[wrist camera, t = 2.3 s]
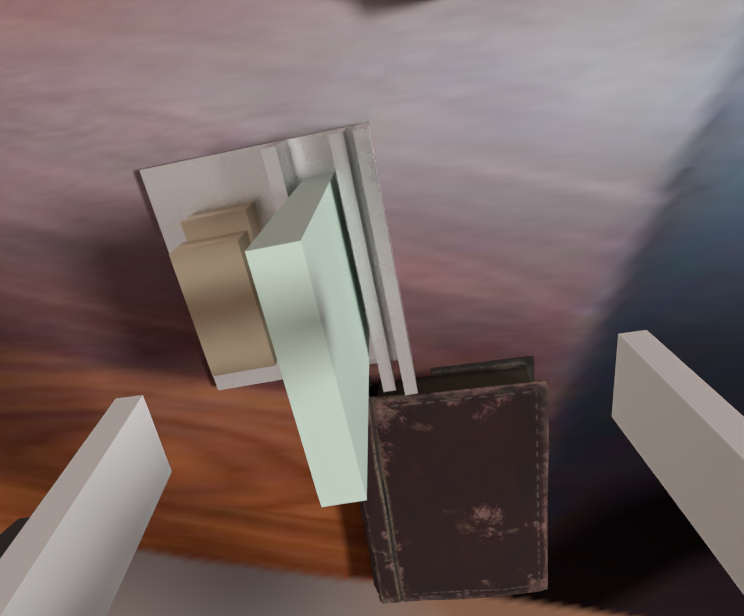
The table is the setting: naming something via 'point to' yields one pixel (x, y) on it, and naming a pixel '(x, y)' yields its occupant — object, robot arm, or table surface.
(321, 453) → the board
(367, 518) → the diary
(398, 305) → the rack
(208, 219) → the offcut lower
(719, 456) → the robot arm
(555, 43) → the table surface
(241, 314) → the offcut upper
